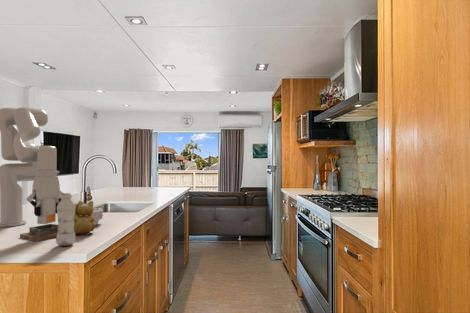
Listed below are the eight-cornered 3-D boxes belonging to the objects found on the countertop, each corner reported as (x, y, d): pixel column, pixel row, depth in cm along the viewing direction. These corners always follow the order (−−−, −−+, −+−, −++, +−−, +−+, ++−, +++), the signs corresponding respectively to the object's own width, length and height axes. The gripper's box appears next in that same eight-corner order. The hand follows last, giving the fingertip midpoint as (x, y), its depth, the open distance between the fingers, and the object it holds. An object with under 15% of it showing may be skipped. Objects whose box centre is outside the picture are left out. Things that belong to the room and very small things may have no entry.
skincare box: (45, 224, 136) (45, 196, 136) (37, 224, 136) (37, 196, 137) (56, 221, 142) (56, 194, 142) (48, 221, 142) (48, 194, 142)
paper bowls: (109, 224, 164) (109, 208, 164) (81, 229, 151) (81, 212, 151) (91, 221, 172) (91, 206, 172) (63, 226, 159) (63, 210, 159)
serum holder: (20, 237, 136) (20, 228, 136) (55, 230, 149) (55, 222, 149) (37, 241, 129) (37, 231, 129) (72, 234, 142) (72, 225, 142)
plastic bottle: (60, 243, 126) (60, 193, 126) (78, 243, 126) (78, 192, 126) (52, 248, 119) (52, 194, 119) (71, 247, 120) (71, 194, 120)
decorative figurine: (96, 231, 147) (96, 199, 147) (94, 235, 139) (94, 201, 139) (73, 233, 144) (73, 200, 144) (69, 237, 136) (69, 202, 136)
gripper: (61, 173, 149) (61, 211, 148) (20, 174, 134) (20, 216, 134) (70, 173, 145) (70, 212, 144) (30, 175, 130) (29, 218, 130)
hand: (46, 214), depth 139 cm, fingers closed on skincare box, 7 cm apart
